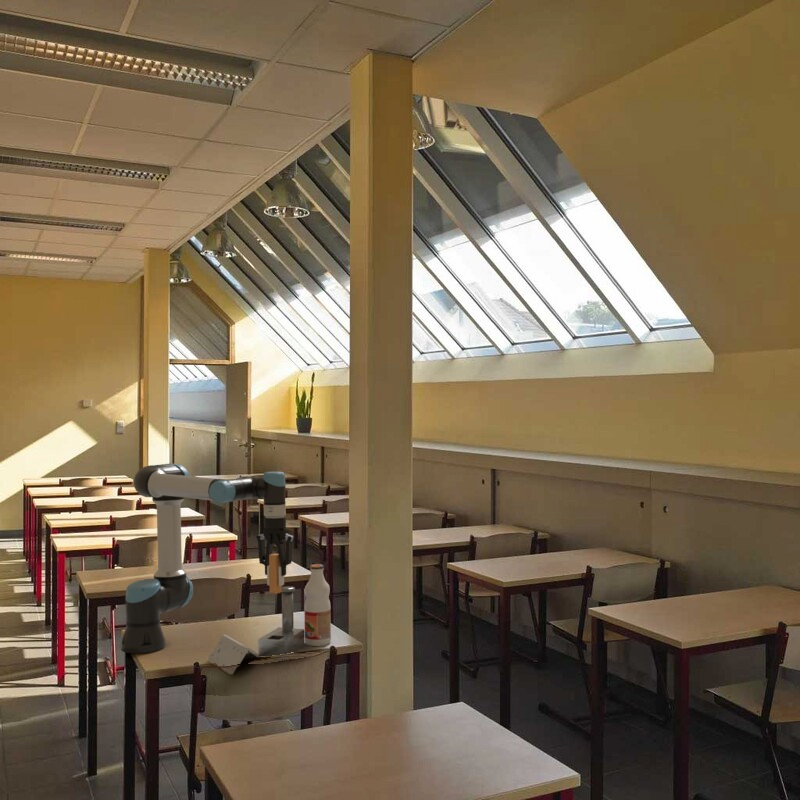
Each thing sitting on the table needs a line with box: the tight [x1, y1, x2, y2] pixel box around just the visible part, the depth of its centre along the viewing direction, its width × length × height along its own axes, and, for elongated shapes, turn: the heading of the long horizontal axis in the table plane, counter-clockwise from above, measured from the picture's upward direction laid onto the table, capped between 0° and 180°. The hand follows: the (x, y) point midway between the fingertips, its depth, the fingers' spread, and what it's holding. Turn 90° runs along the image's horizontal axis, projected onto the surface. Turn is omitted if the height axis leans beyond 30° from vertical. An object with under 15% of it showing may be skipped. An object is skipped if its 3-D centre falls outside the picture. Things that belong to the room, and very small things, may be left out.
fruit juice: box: [303, 563, 332, 647], centre depth 298 cm, size 9×9×28 cm
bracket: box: [207, 634, 260, 666], centre depth 275 cm, size 13×10×20 cm
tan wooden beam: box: [269, 553, 283, 594], centre depth 284 cm, size 3×3×13 cm
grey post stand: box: [257, 586, 306, 656], centre depth 288 cm, size 10×16×21 cm, turn 162°
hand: (275, 584), depth 284 cm, fingers closed on tan wooden beam, 4 cm apart
